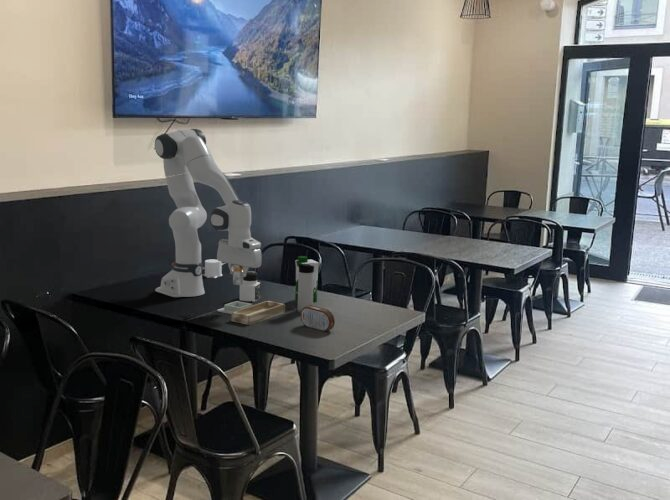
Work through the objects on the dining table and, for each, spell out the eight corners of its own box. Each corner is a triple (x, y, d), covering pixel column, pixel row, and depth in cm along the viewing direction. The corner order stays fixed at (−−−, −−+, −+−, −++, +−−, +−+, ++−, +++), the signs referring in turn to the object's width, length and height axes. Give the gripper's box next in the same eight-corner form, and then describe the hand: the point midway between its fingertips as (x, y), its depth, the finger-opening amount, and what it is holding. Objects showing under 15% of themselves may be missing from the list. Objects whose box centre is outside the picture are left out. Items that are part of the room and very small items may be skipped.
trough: (231, 321, 267) (231, 312, 267) (267, 308, 287) (267, 300, 286) (250, 325, 263) (250, 316, 262) (285, 312, 282) (285, 304, 282)
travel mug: (293, 310, 285) (295, 263, 282) (306, 308, 290) (307, 261, 286) (303, 314, 281) (304, 265, 277) (315, 312, 285) (317, 264, 281)
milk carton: (292, 300, 302) (293, 255, 298) (311, 298, 306) (312, 254, 303) (300, 305, 294) (302, 259, 291) (319, 303, 298) (321, 257, 295)
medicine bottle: (255, 302, 297) (255, 274, 295) (239, 300, 298) (239, 273, 296) (260, 298, 304) (260, 271, 302) (244, 296, 305) (245, 270, 303)
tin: (334, 332, 258) (335, 310, 257) (329, 334, 256) (330, 312, 254) (304, 324, 267) (305, 302, 266) (298, 325, 265) (299, 304, 263)
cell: (230, 283, 280) (231, 264, 279) (237, 282, 284) (237, 262, 282) (238, 285, 278) (239, 265, 277) (245, 283, 282) (245, 264, 280)
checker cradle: (217, 311, 280) (217, 304, 280) (235, 305, 291) (235, 299, 290) (240, 316, 274) (240, 309, 274) (259, 310, 285) (259, 303, 284)
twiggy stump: (241, 277, 344) (241, 261, 343) (208, 283, 331) (208, 266, 329) (217, 270, 358) (217, 255, 357) (184, 275, 344) (184, 259, 343)
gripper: (214, 238, 280) (213, 272, 283) (254, 246, 270) (253, 280, 273) (224, 237, 286) (223, 270, 288) (264, 244, 276) (263, 278, 278)
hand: (238, 275), depth 280 cm, fingers closed on cell, 4 cm apart
